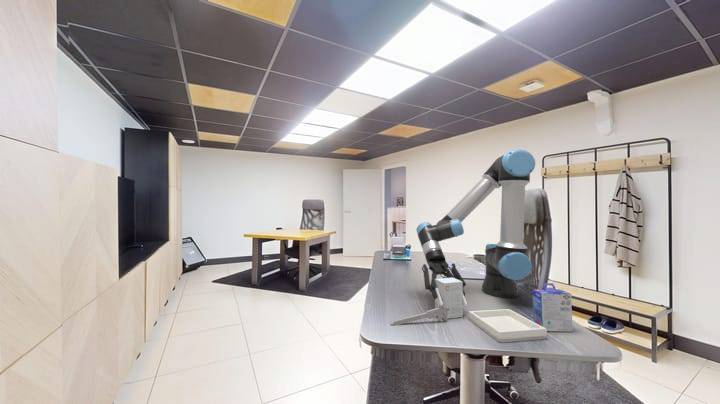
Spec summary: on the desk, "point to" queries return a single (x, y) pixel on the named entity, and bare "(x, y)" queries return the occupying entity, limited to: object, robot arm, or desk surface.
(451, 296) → the small box
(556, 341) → the desk surface
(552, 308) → the ink cartridge box
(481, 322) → the tray
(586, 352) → the desk surface
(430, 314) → the caliper
